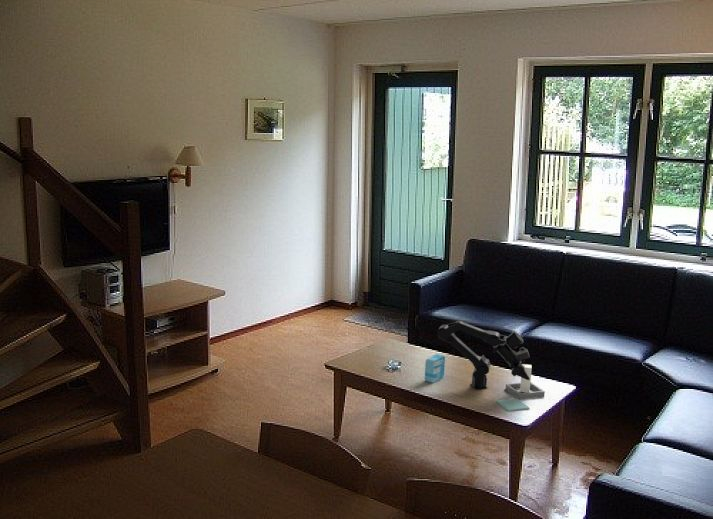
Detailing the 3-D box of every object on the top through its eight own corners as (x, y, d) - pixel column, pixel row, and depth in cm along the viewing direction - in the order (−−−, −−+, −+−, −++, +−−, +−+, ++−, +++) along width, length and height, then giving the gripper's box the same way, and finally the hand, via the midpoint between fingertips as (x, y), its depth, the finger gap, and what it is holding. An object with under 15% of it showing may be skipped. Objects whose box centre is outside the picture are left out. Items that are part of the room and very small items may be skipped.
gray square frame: (518, 398, 335) (519, 394, 334) (505, 388, 347) (505, 384, 347) (544, 396, 339) (544, 391, 339) (530, 386, 351) (530, 381, 351)
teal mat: (508, 411, 320) (508, 409, 320) (496, 402, 330) (496, 400, 330) (529, 409, 323) (529, 407, 323) (517, 400, 334) (517, 398, 333)
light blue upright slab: (431, 383, 350) (433, 361, 348) (424, 381, 353) (425, 359, 351) (444, 377, 360) (445, 355, 357) (436, 375, 362) (437, 353, 360)
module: (520, 391, 341) (522, 367, 339) (520, 388, 345) (522, 364, 343) (529, 392, 340) (531, 368, 338) (529, 389, 345) (531, 365, 342)
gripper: (520, 350, 330) (542, 374, 330) (520, 338, 348) (541, 361, 348) (502, 364, 333) (524, 388, 333) (503, 351, 351) (523, 374, 351)
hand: (528, 377), depth 341 cm, fingers closed on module, 4 cm apart
